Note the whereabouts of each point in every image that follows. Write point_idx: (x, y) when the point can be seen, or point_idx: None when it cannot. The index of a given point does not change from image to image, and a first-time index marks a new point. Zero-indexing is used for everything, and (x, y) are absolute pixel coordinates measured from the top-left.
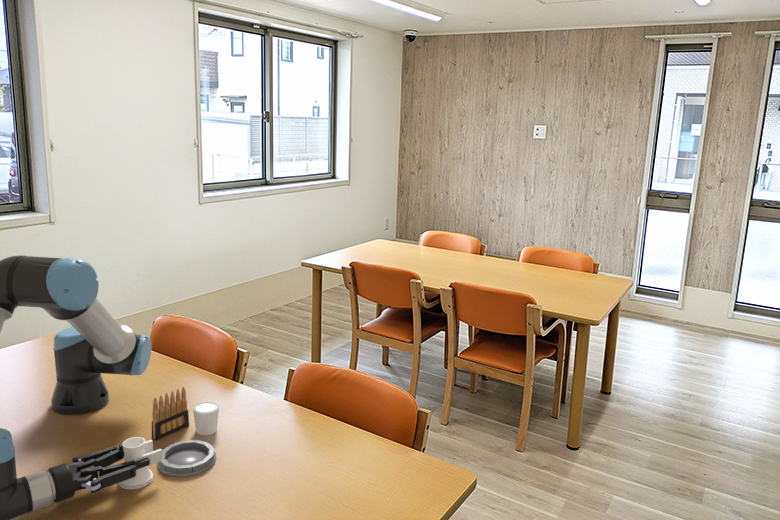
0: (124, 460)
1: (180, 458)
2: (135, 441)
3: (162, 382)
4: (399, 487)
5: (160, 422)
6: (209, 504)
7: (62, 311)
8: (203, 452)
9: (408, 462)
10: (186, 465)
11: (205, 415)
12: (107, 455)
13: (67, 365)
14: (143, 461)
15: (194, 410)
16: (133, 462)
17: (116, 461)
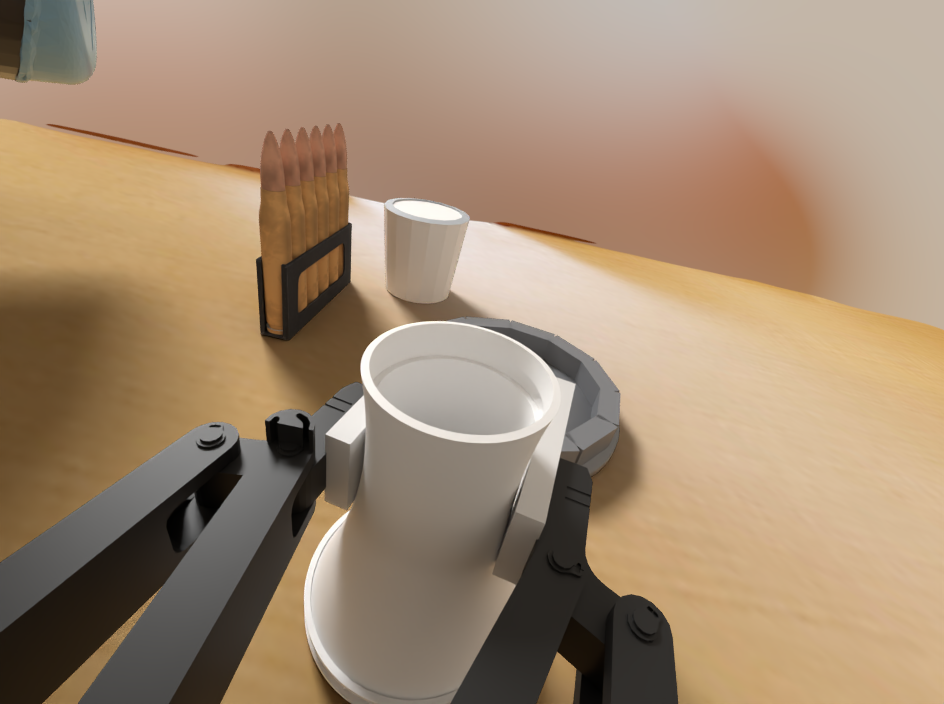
0: (390, 539)
1: None
2: (406, 359)
3: (132, 181)
4: (940, 362)
5: (298, 263)
6: (879, 591)
7: None
8: None
9: (843, 313)
10: (588, 424)
11: (451, 232)
12: (212, 577)
13: None
14: (581, 505)
15: (405, 216)
16: (581, 563)
17: (288, 560)
